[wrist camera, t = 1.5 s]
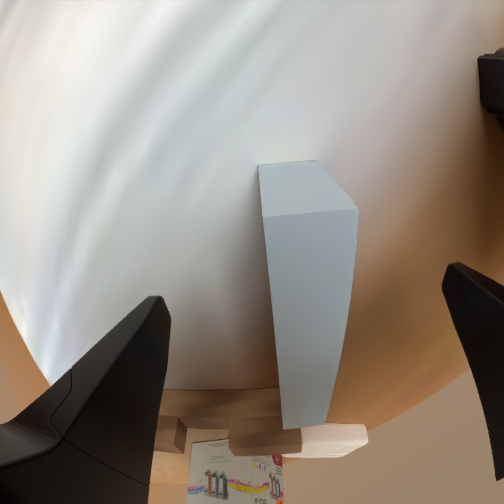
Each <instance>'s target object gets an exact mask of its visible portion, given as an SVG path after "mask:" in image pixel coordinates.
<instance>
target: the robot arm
mask: <svg viewBox="0 0 504 504" xmlns="http://www.w3.org/2000/svg"><path fill="white" fill-rule="evenodd" d="M478 65H479V78H480V100H481V104H482V105H483V106H484V107H487V111H488V112H489V113H490V114H493V115H495V116H496V117H497V120H498V122H499V124H500V126H501V127H502V129H503V131H504V48H500V49H499V50H497V51H496V52H495V54H485V55H484V56H479V58H478ZM442 292H443V294H444V297H445V300H446V303H447V305H448V308H449V311H450V314H451V317H452V320H453V323H454V326H455V329H456V331H457V334H458V336H459V339H460V341H461V344H462V346H463V349H464V352H465V354H466V357H467V360H468V363H469V365H470V368H471V371H472V374H473V377H474V380H475V383H476V386H477V390H478V393H479V397H480V400H481V404H482V407H483V411H484V415H485V419H486V423H487V428H488V431H489V432H488V433H489V438H490V443H491V449H492V454H493V461H494V468H495V477H496V480H497V481H498V480H500V479H502V478H504V286H503V285H501V284H499V283H498V282H496V281H494V280H492V279H490V278H488V277H487V276H485V275H483V274H481V273H479V272H477V271H475V270H473V269H471V268H470V267H468V266H466V265H464V264H462V263H460V262H456V263H450V264H449V265H448V266H447V269H446V272H445V275H444V279H443V282H442ZM170 329H171V317H170V314H169V311H168V309H167V306H166V304H165V301H164V299H163V298H162V296H149V297H147V298H146V299H145V300H144V301H142V302H141V303H140V304H139V305H138V306H137V307H136V308H135V309H134V310H132V311H131V312H130V313H129V314H128V315H127V316H126V317H125V318H124V319H123V320H121V321H120V322H119V323H118V324H117V325H116V326H115V327H114V328H113V329H112V330H110V331H109V332H108V333H107V334H106V335H105V336H104V337H103V338H102V339H101V340H100V341H99V342H98V343H96V344H95V345H94V346H93V347H92V348H91V349H90V350H89V351H88V352H87V353H86V354H85V355H84V356H83V357H82V358H81V359H79V360H78V361H77V362H76V363H75V364H74V365H73V366H72V367H71V369H69V370H68V371H67V372H66V373H65V374H64V375H63V376H62V377H61V378H60V379H59V380H58V381H56V382H55V383H54V384H53V385H52V386H51V387H50V388H49V389H48V390H47V391H45V392H44V393H43V394H42V395H41V396H40V397H39V398H37V399H36V400H35V401H34V402H33V403H31V404H30V405H29V406H28V407H27V408H26V409H24V410H23V411H22V412H21V413H19V415H17V416H16V417H15V418H13V419H12V420H10V421H9V422H7V423H4V424H0V504H148V495H149V484H150V475H151V467H152V459H153V451H154V444H155V437H156V430H157V423H158V417H159V411H160V405H161V399H162V393H163V387H164V382H165V376H166V371H167V364H168V352H169V340H170Z"/></svg>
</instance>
